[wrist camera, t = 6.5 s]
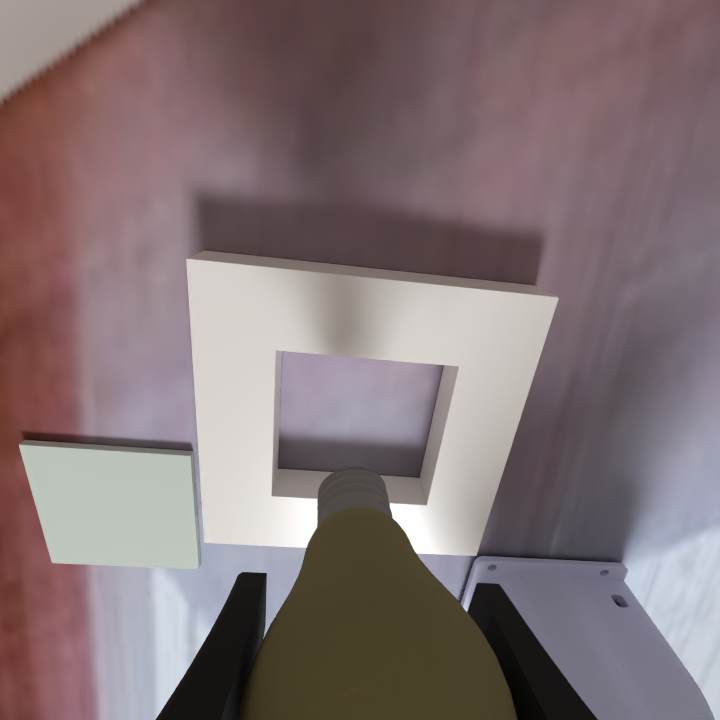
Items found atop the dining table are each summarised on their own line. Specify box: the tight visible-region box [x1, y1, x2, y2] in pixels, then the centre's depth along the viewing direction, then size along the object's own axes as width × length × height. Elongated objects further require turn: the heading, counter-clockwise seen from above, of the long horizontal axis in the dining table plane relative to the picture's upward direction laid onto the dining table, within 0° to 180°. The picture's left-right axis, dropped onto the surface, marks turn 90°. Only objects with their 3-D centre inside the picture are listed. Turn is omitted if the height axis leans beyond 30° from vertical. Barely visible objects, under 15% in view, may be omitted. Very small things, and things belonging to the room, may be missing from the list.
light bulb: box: [237, 467, 518, 720], centre depth 10 cm, size 6×6×10 cm
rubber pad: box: [19, 440, 201, 569], centre depth 21 cm, size 8×8×1 cm
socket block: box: [186, 250, 559, 556], centre depth 18 cm, size 14×14×2 cm
